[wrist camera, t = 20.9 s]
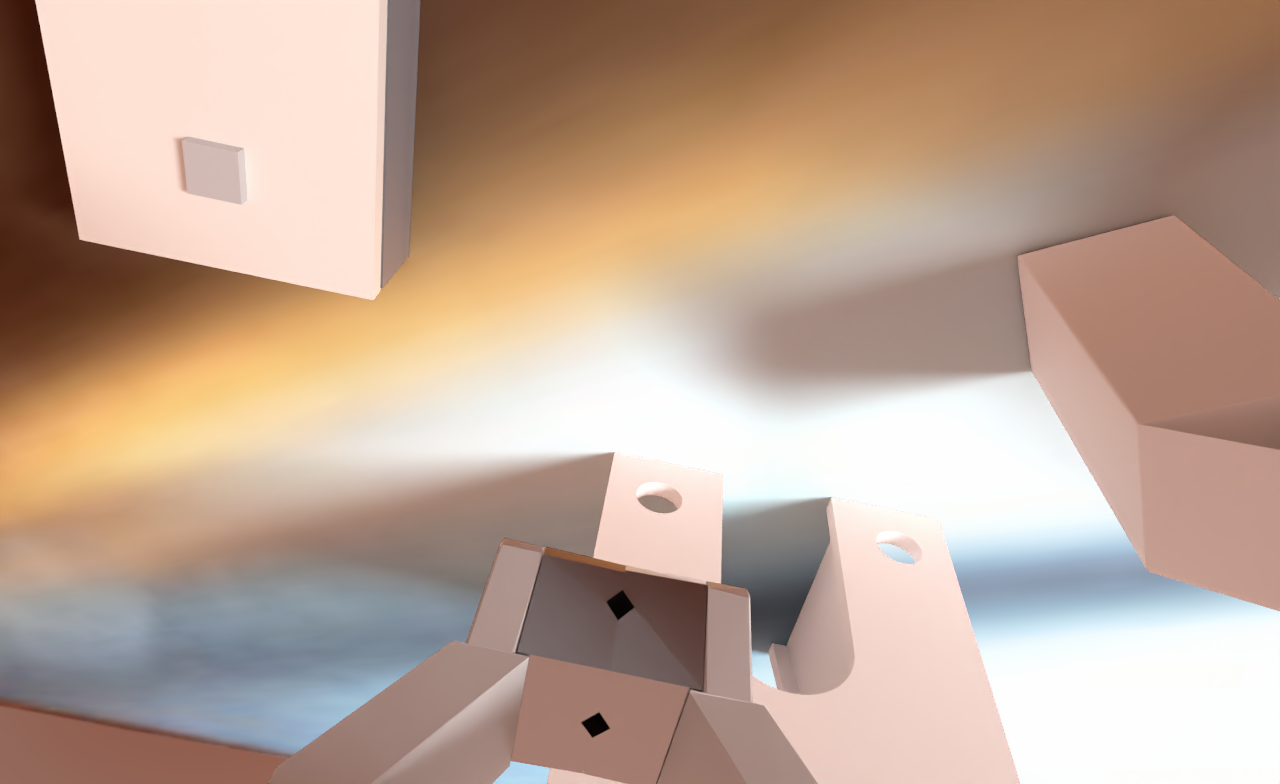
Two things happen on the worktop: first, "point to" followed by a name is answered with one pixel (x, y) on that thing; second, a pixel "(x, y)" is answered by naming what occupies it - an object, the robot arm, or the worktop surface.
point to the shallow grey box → (399, 132)
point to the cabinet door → (227, 131)
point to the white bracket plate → (838, 635)
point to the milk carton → (1168, 396)
